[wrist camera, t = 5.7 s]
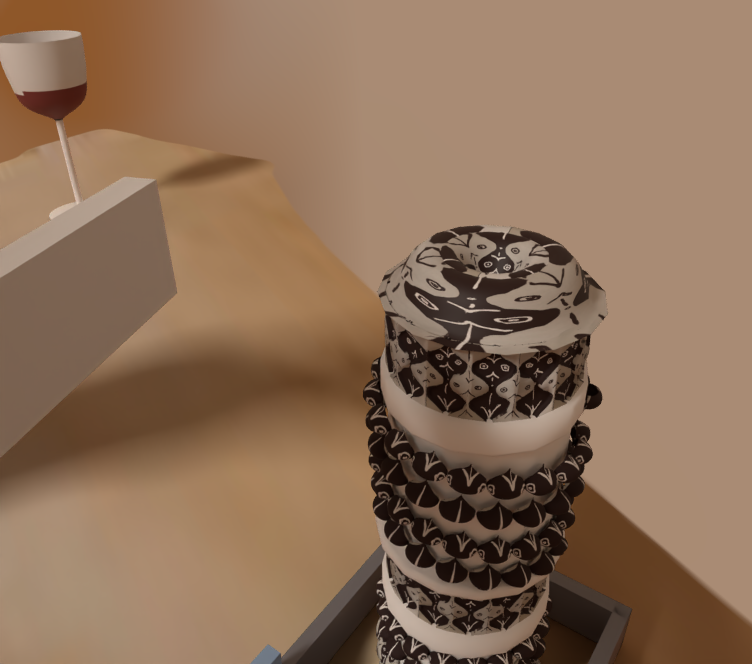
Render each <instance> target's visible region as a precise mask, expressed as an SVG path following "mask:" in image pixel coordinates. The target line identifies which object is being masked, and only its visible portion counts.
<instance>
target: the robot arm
mask: <svg viewBox="0 0 752 664" xmlns="http://www.w3.org/2000/svg"><path fill="white" fill-rule="evenodd" d="M175 294H177V288H176V283H175V278H174V272H173V267H172V262H171V256H170V251H169V246H168V240H167V235H166V230H165V224H164V219H163V214H162V208H161V203H160V198H159V192H158V187H157V182H156V179H145V178H133V177H123V178H122V179H120V180H118V181H117V182H115V183H113V184H111V185H110V186H108V187H106V188H105V189H103V190H101V191H99V192H98V193H96V194H94V195H93V196H91V197H89V198H87V199H86V200H84V201H82V202H81V203H79V204H77V205H75V206H74V207H72V208H70V209H69V210H67V211H65V212H64V213H62V214H60V215H58V216H57V217H55V218H53V219H52V220H50V221H48V222H46V223H45V224H43V225H41V226H40V227H38V228H36V229H34V230H33V231H31V232H29V233H28V234H26V235H24V236H22V237H21V238H19V239H17V240H16V241H14V242H12V243H10V244H9V245H7V246H5V247H4V248H2V249H0V458H1V457H2V456H3V455H4V454H5V453H6V452H7V451H8V450H9V449H11V448H12V447H13V446H14V445H15V444H16V443H17V442H18V441H19V440H20V439H21V438H22V437H23V436H24V435H26V434H27V433H28V432H29V431H30V430H31V429H32V428H33V427H34V426H35V425H36V424H37V423H38V422H39V421H41V420H42V419H43V418H44V417H45V416H46V415H47V414H48V413H49V412H50V411H51V410H52V409H53V408H54V407H56V406H57V405H58V404H59V403H60V402H61V401H62V400H63V399H64V398H65V397H66V396H67V395H68V394H69V393H71V392H72V391H73V390H74V389H75V388H76V387H77V386H78V385H79V384H80V383H81V382H82V381H83V380H84V379H86V378H87V377H88V376H89V375H90V374H91V373H92V372H93V371H94V370H95V369H96V368H97V367H98V366H99V365H101V364H102V363H103V362H104V361H105V360H106V359H107V358H108V357H109V356H110V355H111V354H112V353H113V352H114V351H116V350H117V349H118V348H119V347H120V346H121V345H122V344H123V343H124V342H125V341H126V340H127V339H128V338H129V337H130V336H132V335H133V334H134V333H135V332H136V331H137V330H138V329H139V328H140V327H141V326H142V325H143V324H144V323H145V322H147V321H148V320H149V319H150V318H151V317H152V316H153V315H154V314H155V313H156V312H157V311H158V310H159V309H160V308H162V307H163V306H164V305H165V304H166V303H167V302H168V301H169V300H170V299H171V298H172V297H173V296H174V295H175Z"/></svg>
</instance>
